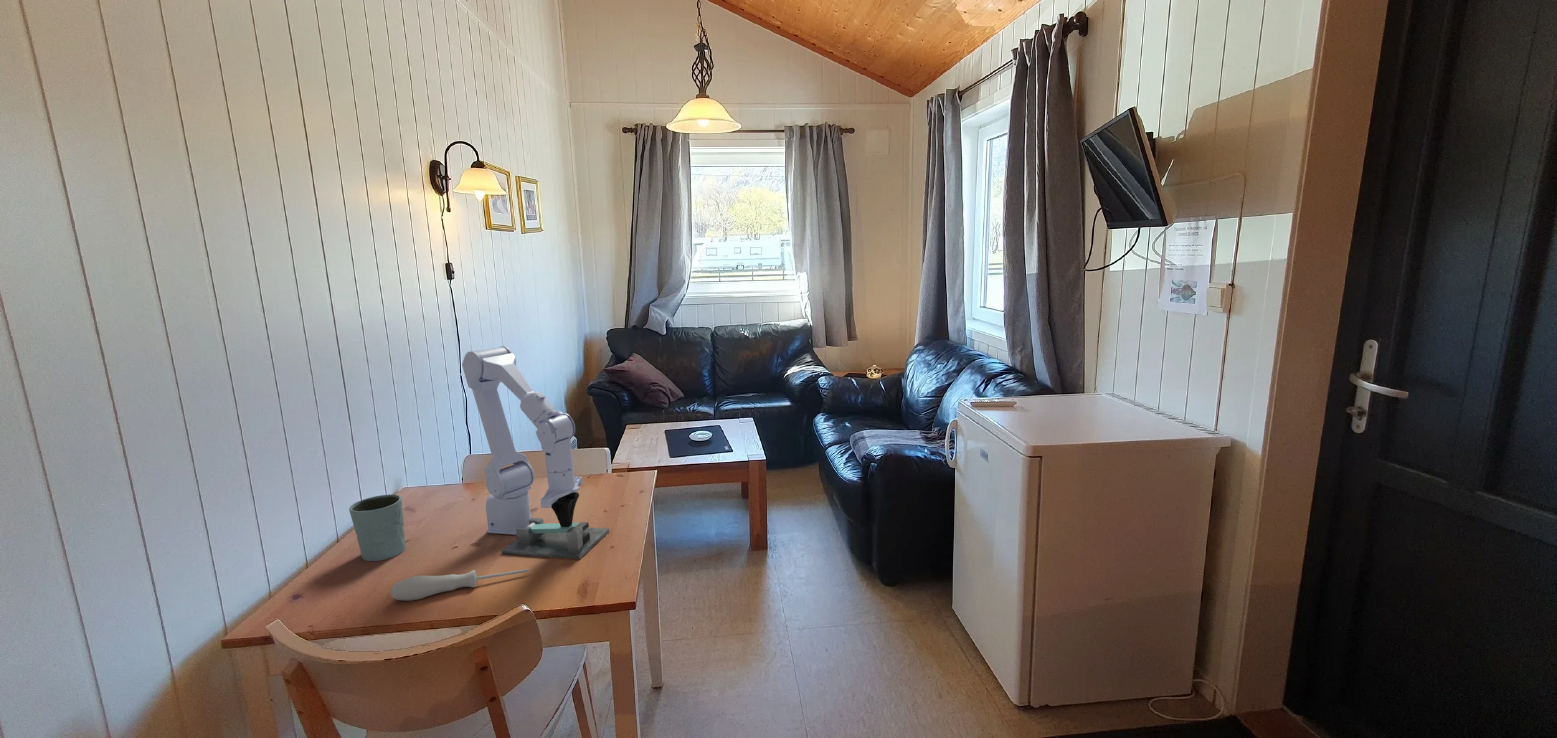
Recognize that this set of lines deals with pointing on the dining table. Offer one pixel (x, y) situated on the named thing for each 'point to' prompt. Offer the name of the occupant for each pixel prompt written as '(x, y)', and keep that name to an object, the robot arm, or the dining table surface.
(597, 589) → the dining table surface
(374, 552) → the green cup
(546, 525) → the teal rectangular bar
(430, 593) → the screwdriver
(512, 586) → the dining table surface
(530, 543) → the plate
